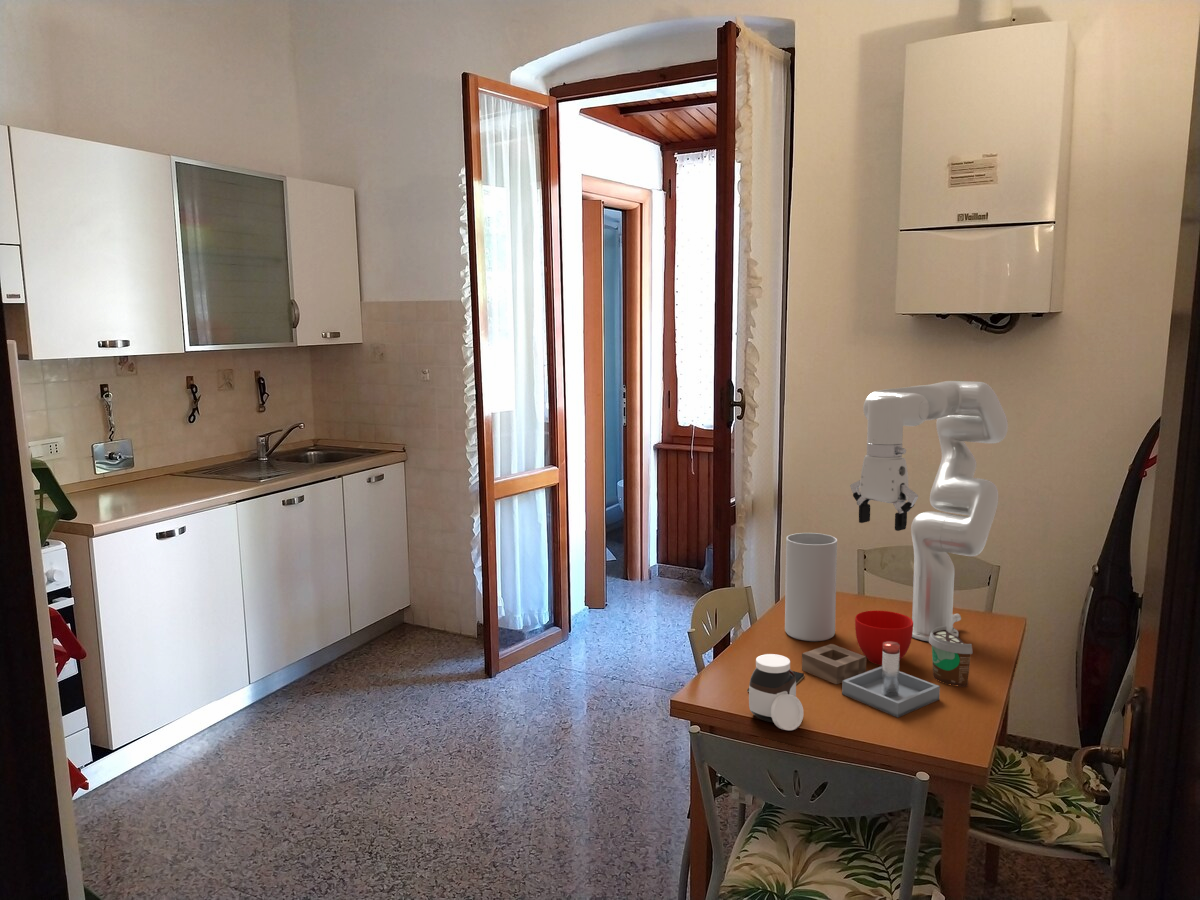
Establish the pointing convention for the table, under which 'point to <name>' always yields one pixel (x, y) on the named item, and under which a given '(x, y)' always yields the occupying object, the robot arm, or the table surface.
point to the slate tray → (909, 699)
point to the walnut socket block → (833, 663)
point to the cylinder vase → (810, 586)
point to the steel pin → (890, 669)
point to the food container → (950, 657)
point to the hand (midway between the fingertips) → (881, 525)
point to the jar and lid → (775, 692)
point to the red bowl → (882, 632)
